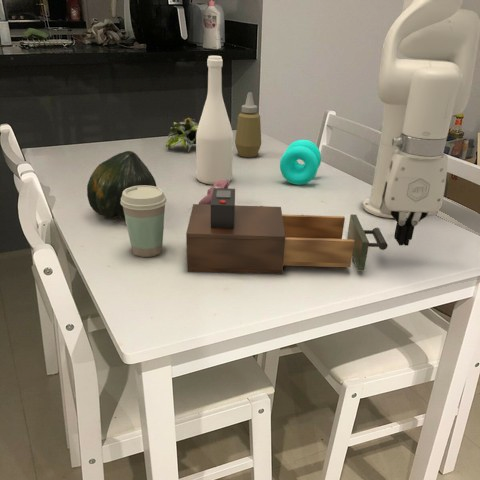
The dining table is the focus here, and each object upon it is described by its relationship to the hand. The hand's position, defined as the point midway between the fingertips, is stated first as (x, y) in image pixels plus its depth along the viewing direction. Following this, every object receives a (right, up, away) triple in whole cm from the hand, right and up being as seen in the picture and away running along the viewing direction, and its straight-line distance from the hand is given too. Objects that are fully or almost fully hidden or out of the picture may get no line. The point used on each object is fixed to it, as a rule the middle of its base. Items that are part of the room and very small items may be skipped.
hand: (401, 242), depth 102 cm
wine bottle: (-38, +23, +41) cm, 60 cm away
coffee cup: (-50, -1, +3) cm, 50 cm away
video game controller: (-37, +13, +26) cm, 47 cm away
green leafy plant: (-48, +39, +65) cm, 90 cm away
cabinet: (-32, -2, +2) cm, 32 cm away
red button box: (-34, +4, -2) cm, 35 cm away
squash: (-57, +9, +19) cm, 61 cm away
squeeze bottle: (-29, +36, +62) cm, 77 cm away
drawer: (-14, -2, +2) cm, 14 cm away
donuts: (-15, +23, +43) cm, 51 cm away
